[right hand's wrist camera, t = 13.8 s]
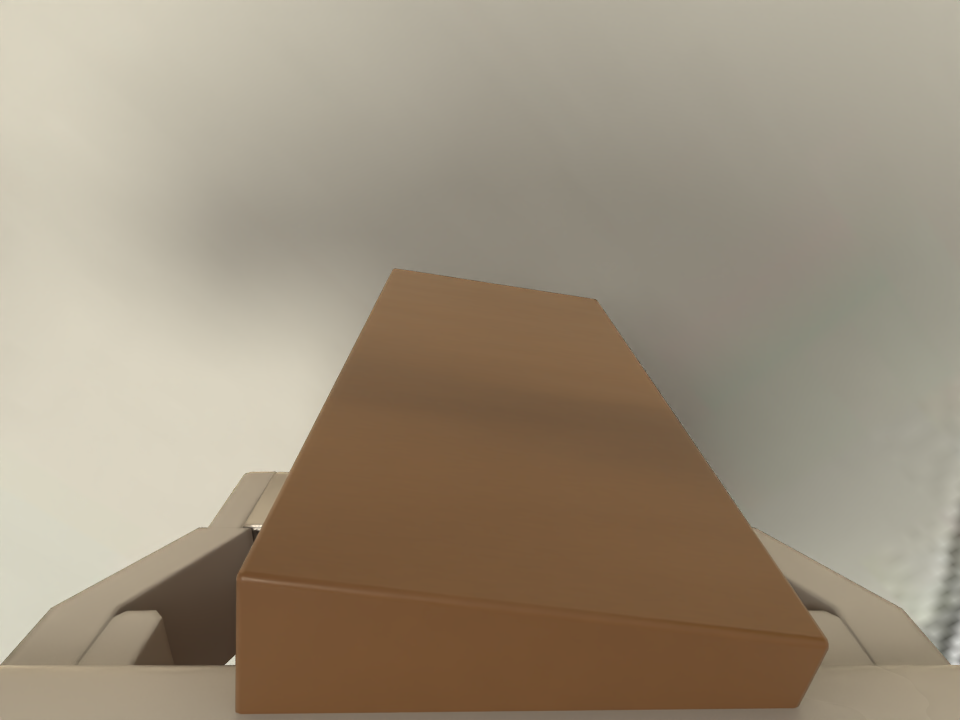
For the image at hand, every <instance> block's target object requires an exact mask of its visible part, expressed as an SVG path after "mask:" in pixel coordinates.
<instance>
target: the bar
mask: <svg viewBox="0 0 960 720" xmlns="http://www.w3.org/2000/svg"><path fill="white" fill-rule="evenodd" d="M828 649H829V643H828V639H827V638H826V636H825V635H824V633H823V632H822V630H821V629H820V628H819V626H818V625H817V623H816V622H815V620H814V619H813V617H812V616H811V614H810V613H809V611H808V610H807V608H806V607H805V605H804V604H803V602H802V601H801V600H800V598H799V597H798V595H797V594H796V592H795V591H794V589H793V588H792V586H791V585H790V583H789V582H788V580H787V579H786V577H785V576H784V575H783V573H782V572H781V570H780V569H779V567H778V566H777V564H776V563H775V561H774V560H773V558H772V557H771V555H770V554H769V552H768V551H767V550H766V548H765V547H764V545H763V544H762V542H761V541H760V539H759V538H758V536H757V535H756V533H755V532H754V530H753V529H752V527H751V526H750V525H749V523H748V522H747V520H746V519H745V517H744V516H743V514H742V513H741V511H740V510H739V508H738V507H737V505H736V504H735V502H734V501H733V500H732V498H731V497H730V495H729V494H728V492H727V491H726V489H725V488H724V486H723V485H722V483H721V482H720V480H719V479H718V477H717V476H716V475H715V473H714V472H713V470H712V469H711V467H710V466H709V464H708V463H707V461H706V460H705V458H704V457H703V455H702V454H701V452H700V451H699V450H698V448H697V447H696V445H695V444H694V442H693V441H692V439H691V438H690V436H689V435H688V433H687V432H686V430H685V429H684V427H683V426H682V425H681V423H680V422H679V420H678V419H677V417H676V416H675V414H674V413H673V411H672V410H671V408H670V407H669V405H668V404H667V402H666V401H665V400H664V398H663V397H662V395H661V394H660V392H659V391H658V389H657V388H656V386H655V385H654V383H653V382H652V380H651V379H650V377H649V376H648V375H647V373H646V372H645V370H644V369H643V367H642V366H641V364H640V363H639V361H638V360H637V358H636V357H635V355H634V354H633V352H632V351H631V350H630V348H629V347H628V345H627V344H626V342H625V341H624V339H623V338H622V336H621V335H620V333H619V332H618V330H617V329H616V327H615V326H614V325H613V323H612V322H611V320H610V319H609V317H608V316H607V314H606V313H605V311H604V310H603V308H602V307H601V305H600V304H599V302H598V301H597V300H596V299H590V298H584V297H577V296H571V295H564V294H558V293H551V292H545V291H539V290H532V289H526V288H519V287H513V286H506V285H500V284H493V283H487V282H480V281H474V280H467V279H461V278H454V277H448V276H441V275H435V274H428V273H422V272H415V271H409V270H402V269H396V268H395V269H393V270H392V272H391V274H390V276H389V278H388V280H387V282H386V284H385V286H384V288H383V290H382V292H381V294H380V295H379V297H378V299H377V301H376V303H375V305H374V307H373V309H372V311H371V313H370V315H369V317H368V319H367V321H366V323H365V325H364V327H363V329H362V331H361V333H360V335H359V337H358V339H357V341H356V343H355V345H354V347H353V348H352V350H351V352H350V354H349V356H348V358H347V360H346V362H345V364H344V366H343V368H342V370H341V372H340V374H339V376H338V378H337V380H336V382H335V384H334V386H333V388H332V390H331V392H330V394H329V396H328V398H327V400H326V401H325V403H324V405H323V407H322V409H321V411H320V413H319V415H318V417H317V419H316V421H315V423H314V425H313V427H312V429H311V431H310V433H309V435H308V437H307V439H306V441H305V443H304V445H303V447H302V449H301V451H300V453H299V455H298V456H297V458H296V460H295V462H294V464H293V466H292V468H291V470H290V472H289V474H288V476H287V478H286V480H285V482H284V484H283V486H282V488H281V490H280V492H279V494H278V496H277V498H276V500H275V502H274V504H273V506H272V508H271V509H270V511H269V513H268V515H267V517H266V519H265V521H264V523H263V525H262V527H261V529H260V531H259V533H258V535H257V537H256V539H255V541H254V543H253V545H252V547H251V549H250V551H249V553H248V555H247V557H246V559H245V561H244V562H243V564H242V566H241V568H240V570H239V572H238V574H237V576H236V668H235V712H236V713H239V714H306V713H399V712H492V711H585V710H679V709H772V708H796V707H798V706H799V705H800V703H801V701H802V699H803V697H804V695H805V694H806V692H807V690H808V688H809V686H810V684H811V682H812V680H813V678H814V676H815V674H816V672H817V670H818V668H819V667H820V665H821V663H822V661H823V659H824V657H825V655H826V653H827V651H828Z"/></svg>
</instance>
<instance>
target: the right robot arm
mask: <svg viewBox="0 0 960 720" xmlns="http://www.w3.org/2000/svg"><path fill="white" fill-rule="evenodd" d="M288 474H289V472H278V473H277V472H249V473H246V474H244V475H243V477H242V478H241V480H240V481H239V483H238V484H237V486H236V487H235V489H234V490H233V492H232V493H231V495H230V496H229V497H228V499H227V500H226V502H225V503H224V505H223V506H222V508H221V509H220V511H219V512H218V514H217V515H216V517H215V518H214V520H213V521H212V522H211V524H210V525H209V527H208V528H198V529H196V530H194V531H192V532H190V533H188V534H186V535H185V536H183V537H181V538H179V539H177V540H175V541H174V542H172V543H170V544H168V545H166V546H164V547H163V548H161V549H159V550H157V551H155V552H153V553H151V554H150V555H148V556H146V557H144V558H142V559H140V560H139V561H137V562H135V563H133V564H131V565H129V566H128V567H126V568H124V569H122V570H120V571H118V572H117V573H115V574H113V575H111V576H109V577H107V578H105V579H104V580H102V581H100V582H98V583H96V584H94V585H93V586H91V587H89V588H87V589H85V590H83V591H82V592H80V593H78V594H76V595H74V596H72V597H70V598H69V599H67V600H65V601H63V602H61V603H59V604H58V605H56V606H54V607H52V608H51V609H50V610H49V611H48V612H47V613H46V614H45V615H44V617H43V618H42V619H41V620H40V621H39V622H38V623H37V624H36V626H35V627H34V628H33V629H32V630H31V631H30V632H29V633H28V635H27V636H26V637H25V638H24V639H23V640H22V641H21V642H20V644H19V645H18V646H17V647H16V648H15V649H14V650H13V651H12V653H11V654H10V655H9V656H8V657H7V658H6V659H5V660H4V661H3V663H2V664H1V665H0V720H960V665H951V664H950V663H949V662H948V661H947V660H946V658H945V657H944V656H943V655H942V654H941V653H940V651H939V650H938V649H937V648H936V647H935V646H934V645H933V643H932V642H931V641H930V640H929V639H928V638H927V637H926V635H925V634H924V633H923V632H922V631H921V630H920V628H919V627H918V626H917V625H916V624H915V623H914V622H913V620H912V619H911V618H910V617H909V616H908V615H907V613H906V612H905V611H904V610H903V609H902V608H900V607H898V606H896V605H894V604H893V603H891V602H889V601H887V600H885V599H884V598H882V597H880V596H878V595H876V594H874V593H873V592H871V591H869V590H867V589H865V588H864V587H862V586H860V585H858V584H856V583H854V582H853V581H851V580H849V579H847V578H845V577H844V576H842V575H840V574H838V573H836V572H834V571H833V570H831V569H829V568H827V567H825V566H824V565H822V564H820V563H818V562H816V561H814V560H813V559H811V558H809V557H807V556H805V555H804V554H802V553H800V552H798V551H796V550H795V549H793V548H791V547H789V546H787V545H785V544H784V543H782V542H780V541H778V540H776V539H775V538H773V537H771V536H769V535H767V534H765V533H764V532H762V531H760V530H758V529H756V528H752V529H753V530H754V532H755V533H756V535H757V536H758V538H759V539H760V541H761V542H762V544H763V545H764V547H765V548H766V550H767V551H768V552H769V554H770V555H771V557H772V558H773V560H774V561H775V563H776V564H777V566H778V567H779V569H780V570H781V572H782V573H783V575H784V576H785V577H786V579H787V580H788V582H789V583H790V585H791V586H792V588H793V589H794V591H795V592H796V594H797V595H798V597H799V598H800V600H801V601H802V602H803V604H804V605H805V607H806V608H807V610H808V611H809V613H810V614H811V616H812V617H813V619H814V620H815V622H816V623H817V625H818V626H819V628H820V629H821V630H822V632H823V633H824V635H825V636H826V638H827V639H828V643H829V649H828V651H827V653H826V655H825V657H824V659H823V661H822V663H821V665H820V667H819V668H818V670H817V672H816V674H815V676H814V678H813V680H812V682H811V684H810V686H809V688H808V690H807V692H806V694H805V695H804V697H803V699H802V701H801V703H800V705H799V706H798V707H796V708H772V709H679V710H585V711H492V712H399V713H306V714H239V713H236V712H235V668H236V665H225V664H226V663H227V662H228V661H229V660H230V659H231V658H232V657H233V656H234V655H235V654H236V576H237V574H238V572H239V570H240V568H241V566H242V564H243V562H244V561H245V559H246V557H247V555H248V553H249V551H250V549H251V547H252V545H253V543H254V541H255V539H256V537H257V535H258V533H259V531H260V529H261V527H262V525H263V523H264V521H265V519H266V517H267V515H268V513H269V511H270V509H271V508H272V506H273V504H274V502H275V500H276V498H277V496H278V494H279V492H280V490H281V488H282V486H283V484H284V482H285V480H286V478H287V476H288Z"/></svg>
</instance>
